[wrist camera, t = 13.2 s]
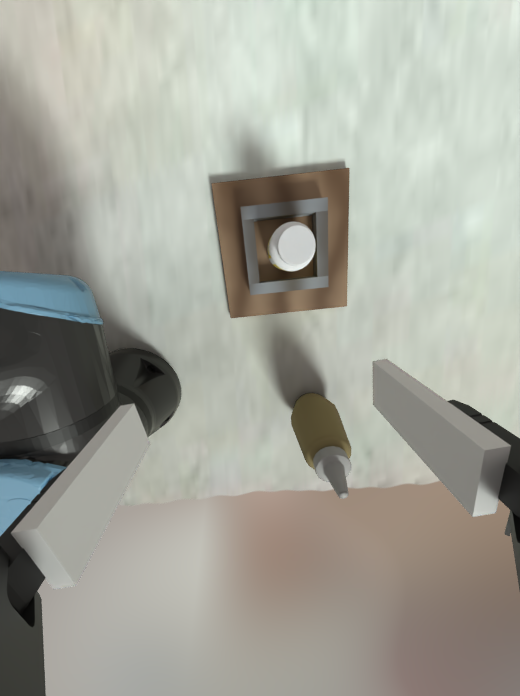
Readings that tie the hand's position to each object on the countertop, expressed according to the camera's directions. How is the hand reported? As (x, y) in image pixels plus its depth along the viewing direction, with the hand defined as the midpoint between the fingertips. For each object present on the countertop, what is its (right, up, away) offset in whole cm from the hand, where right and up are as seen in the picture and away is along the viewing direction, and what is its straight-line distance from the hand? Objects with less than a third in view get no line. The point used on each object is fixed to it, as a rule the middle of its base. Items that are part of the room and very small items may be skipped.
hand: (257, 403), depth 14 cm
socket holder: (+4, +17, +22) cm, 29 cm away
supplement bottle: (+4, +17, +22) cm, 28 cm away
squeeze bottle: (+9, -8, +32) cm, 34 cm away
